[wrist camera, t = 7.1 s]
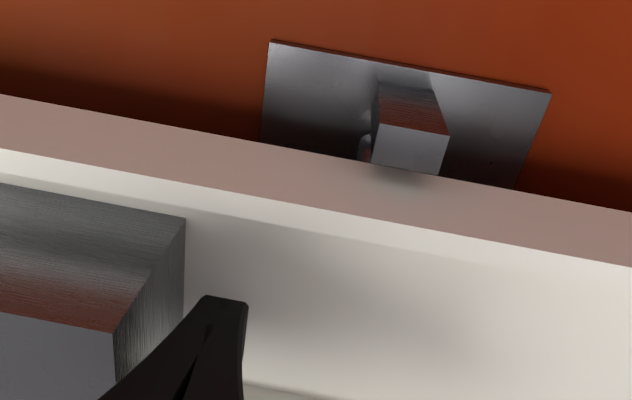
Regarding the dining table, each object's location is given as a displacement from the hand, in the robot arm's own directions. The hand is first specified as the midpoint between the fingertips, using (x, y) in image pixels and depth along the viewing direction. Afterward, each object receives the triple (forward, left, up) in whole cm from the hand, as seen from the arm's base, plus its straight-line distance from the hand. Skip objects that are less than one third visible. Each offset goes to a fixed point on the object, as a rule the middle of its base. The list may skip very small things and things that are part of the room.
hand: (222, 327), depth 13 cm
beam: (-1, -1, -3) cm, 3 cm away
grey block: (+3, +2, -1) cm, 4 cm away
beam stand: (-3, -2, -5) cm, 6 cm away
